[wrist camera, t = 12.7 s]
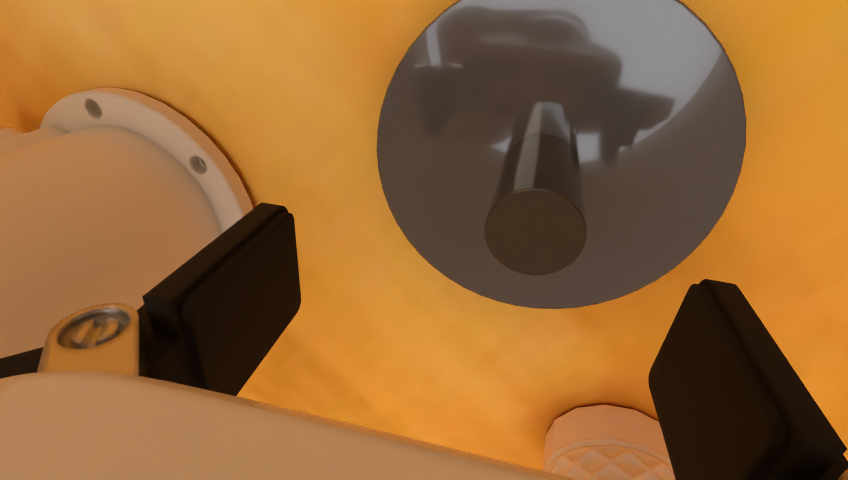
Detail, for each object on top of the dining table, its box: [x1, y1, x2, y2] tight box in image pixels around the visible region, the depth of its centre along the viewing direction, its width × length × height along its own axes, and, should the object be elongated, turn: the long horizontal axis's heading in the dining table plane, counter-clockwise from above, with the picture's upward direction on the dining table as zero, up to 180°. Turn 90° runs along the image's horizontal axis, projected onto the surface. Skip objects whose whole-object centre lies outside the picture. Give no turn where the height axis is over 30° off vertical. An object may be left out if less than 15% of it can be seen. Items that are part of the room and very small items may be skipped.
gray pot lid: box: [377, 0, 746, 309], centre depth 15 cm, size 13×13×6 cm
